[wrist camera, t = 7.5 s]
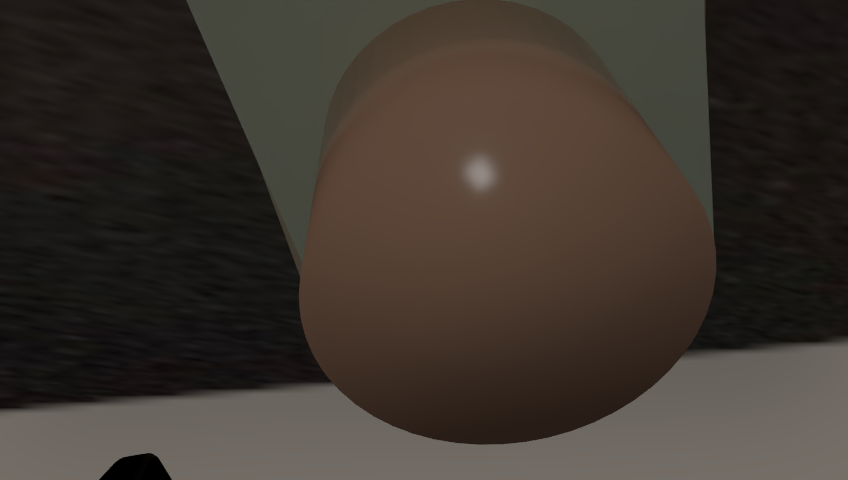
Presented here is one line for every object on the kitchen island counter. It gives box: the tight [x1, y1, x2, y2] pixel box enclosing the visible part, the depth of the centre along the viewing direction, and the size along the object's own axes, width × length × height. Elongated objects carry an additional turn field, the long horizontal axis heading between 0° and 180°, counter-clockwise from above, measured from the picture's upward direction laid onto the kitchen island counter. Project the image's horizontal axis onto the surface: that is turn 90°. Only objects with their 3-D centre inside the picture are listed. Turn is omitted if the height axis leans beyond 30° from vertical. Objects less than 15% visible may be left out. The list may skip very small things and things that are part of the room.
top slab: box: [186, 0, 714, 263], centre depth 16 cm, size 9×9×3 cm
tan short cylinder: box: [299, 0, 716, 444], centre depth 13 cm, size 6×6×5 cm
